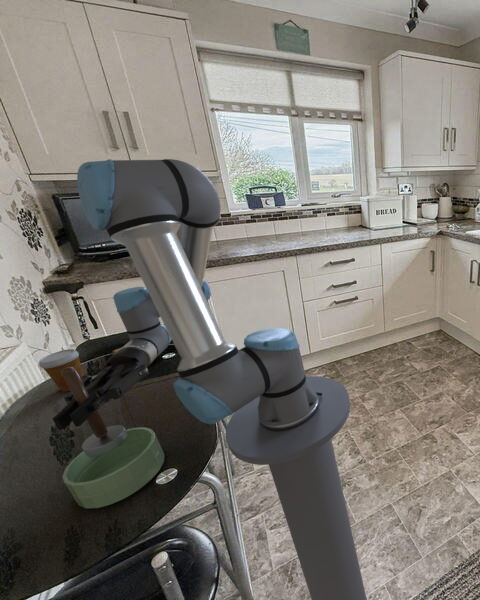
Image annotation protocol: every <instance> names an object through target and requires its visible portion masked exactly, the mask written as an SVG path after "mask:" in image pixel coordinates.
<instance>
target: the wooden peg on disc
mask: <svg viewBox="0 0 480 600" xmlns="http://www.w3.org/2000/svg"><path fill="white" fill-rule="evenodd" d="M62 376H63V377H64V379H65V381H66V383H67V385H68V387H69V388H70V391H71V392H72V394H73V396H74V398H75V399H76V401H77V403H78V405H79V406H80V405H81V404H82V403H83V402H84V401H85V400H86V399H87V398H88V397H89V394H88V392H87V390H86V388H85V386H84V384H83V382H82V380H81V379H80V377H79V375H78V373H77V371H76V369H75V368H73V367H67V368H65V369H63V370H62ZM86 421H87V423H88V425H89V427H90V429H91V431H92V433H93V434H91V435H90V436H88V437H87V438H86V439H85V440H84V441H83V442H82V444H81V448H82V452H83V451H84V452H85V454H86V456H88V457H97V456H101V455H104V454H106V453H108V452H110V451H112V450H114V449H116V448H117V447H119V446H120V445H121V444H122V443H123V442H124V441H125V440H126V439H127V436H128V434H127V432H126V430H127V429H126V428H125V427H124V425H121V424H115V425H110V426H106V425H105V423H104V420H103V418H102V417H101V415H100V413H99V411H98V409H97V410H96V411H94V412H93V413H92V414H91V416H90V417H89V418H88V419H87V420H86Z"/></svg>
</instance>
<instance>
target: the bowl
mask: <svg viewBox="0 0 480 600" xmlns="http://www.w3.org/2000/svg"><path fill="white" fill-rule="evenodd" d="M125 430H126V432H127V434H128V436H127V439H126V440H125V441H124V442H123V443H122V444H121V445H120V446H119V447H117V448H116V449H114V450H112V451H110V452H108V453H106V454H104V455H101V456H97V457H88V456H86V454H85V452H84V451H83V450H82V451H81V452H80V453H78V455H76V456H75V457H74V458H73V459H72V460H71V461H70V463H68V465H66V467H65V469H64V472H63V474H62V480H63V483H64V484H65V487H66V488H67V489H68V490H69V492H70V494H71V496H72V497H73V500H74V501H75V502H76V503H77V505H78V506H79V507H80V508H83V509H86V510H87V509H88V510H89V509H100V508H104V507H107V506H110V505H113V504H115V503H117V502H120V501H123V500H125V499H126V498H128V497H130V496H132V495H133V494H134V493H136V492H138V491H139V490H141V489H142V488H143V487H144V486H146V485H147V484H148V483H149V482H150V481H151V480H153V478H154V477H155V476H156V475H157V474H158V472H159V471H160V470H161V468H162V466H163V465H164V462H165V453H164V450H163V448H162V446H161V444H160V441H159V439H158V437H157V434H156V433H155V432H154V431H153V429H152V428H148V427H145V426H143V427H132V428H128V429H125Z"/></svg>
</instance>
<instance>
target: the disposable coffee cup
mask: <svg viewBox="0 0 480 600" xmlns="http://www.w3.org/2000/svg"><path fill="white" fill-rule="evenodd" d="M79 354H80V353H79V351H77V349H74V348H68V349H62V350H58V351H55V352H53V353H50V354H48V355H46V356H44V357H42V358H40V359H39V362H38V363H39V364H38V366H39V367H40V368H41V369H43V370H44V372H45V373H46V374H47V375H48V376H49V378H51V380H52V381H53V382H54V383H55V385H56V387H58V388H59V390H60V391H61V392H70V391H71V390H70V388H69V387H68V385H67V383H66V381H65V379H64V377H63V376H62V370H63V369H65V368H67V367H73V368H75V369H76V371H77V373H78V375H79V377H80V379H81V377H82V376H84V375H85V374H84V373H85V372H84V370H83V367H82V363H81V360H80V357H79Z"/></svg>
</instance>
